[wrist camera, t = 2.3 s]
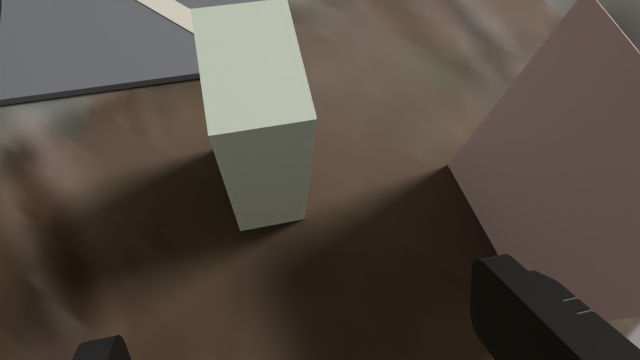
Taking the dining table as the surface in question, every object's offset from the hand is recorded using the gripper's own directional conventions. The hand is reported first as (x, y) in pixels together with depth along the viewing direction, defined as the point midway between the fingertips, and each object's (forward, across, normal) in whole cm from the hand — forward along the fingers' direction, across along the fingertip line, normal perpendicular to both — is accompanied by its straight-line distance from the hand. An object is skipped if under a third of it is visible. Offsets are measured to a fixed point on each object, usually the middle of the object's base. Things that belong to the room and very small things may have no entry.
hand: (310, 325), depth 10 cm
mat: (+30, +6, -8) cm, 31 cm away
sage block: (+18, 0, +4) cm, 19 cm away
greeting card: (+14, -14, +8) cm, 22 cm away
